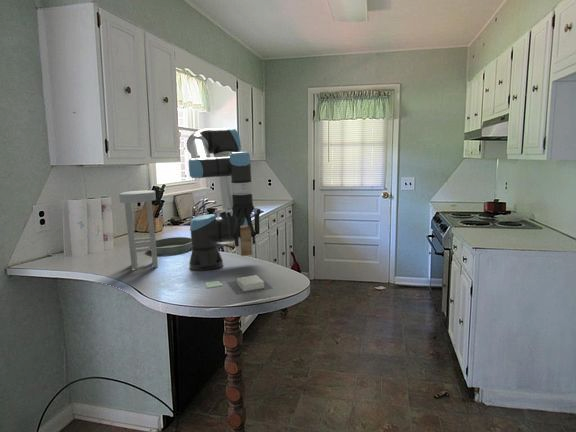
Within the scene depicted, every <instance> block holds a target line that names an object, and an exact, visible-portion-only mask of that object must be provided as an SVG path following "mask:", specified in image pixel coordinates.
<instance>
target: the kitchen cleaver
mask: <svg viewBox="0 0 576 432" xmlns="http://www.w3.org/2000/svg"><path fill="white" fill-rule="evenodd" d="M232 244H233V242H231V241H229V242H219V243H218V246H223V247H226V248H231V249H235V248H236V246H235V245H232Z"/></svg>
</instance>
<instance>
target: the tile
mask: <svg viewBox="0 0 576 432" xmlns="http://www.w3.org/2000/svg"><path fill="white" fill-rule="evenodd" d="M262 279H263V278H262ZM262 279H260V278H259V275H256V274H254V275H248V276H242V277H237V278H236V281H237V285H238V286H239V287H240V288H241V289H242V290H243V291H249V290H255V289H261V288H264V281H263V280H264V279H263V280H262Z"/></svg>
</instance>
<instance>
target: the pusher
mask: <svg viewBox="0 0 576 432" xmlns="http://www.w3.org/2000/svg"><path fill="white" fill-rule="evenodd" d="M239 238H241V254H242V255H240V256H241V257H246V256H252V255H253V253H252V243H251V227H250V226H248V225H242V226H240V231H239Z"/></svg>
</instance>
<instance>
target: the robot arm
mask: <svg viewBox="0 0 576 432" xmlns="http://www.w3.org/2000/svg"><path fill="white" fill-rule="evenodd" d="M186 149H187V151H188V152H189V154H190V156H191V158H189V159H188V174H189V177H190V178H191V179H204V178H206V179H207V178H218V179H219V188H220V198H221V206H222V207H221V208H222V210H221V211H220V212H219V216H218V217H217V216H216V214H213V213H210V214H204V215H198V216H196V217H193V218H192V219H191V220H190V223H189V224H190V226H189V231H190V238H191V242H192V247H191V254H190V259H189V262H188V263H189V264H188V265H189V269H190V270H192V271H200V272H201V271H202V272H203V271H212V270H217V269H219V268H221V267H223V265H224V260H223V257H222V255H221V252H220V250H219V245H218V243H219V242H234V246H235V248H236V247H237V255H239V256H241V255H242V254H241V238H239V231H240V226H242V225H248V226H250V227H251V243H252V254H254V245H256V236H257V235H259V234H260V214H261V211H262V210H261V208H257V207H255V206H254V203H253V202H254V201H253V194H252V192H253V190H252V189H253V188H252V187H253V185H252V167H251V166H252V165H251V163H252V160H251V155H250V154H251V153H249V151H241V150H242V145H241V138H240V135H239V132H238V130H237V129H236V128H233V127H231V128H230V127H223V128H222V127H221V128H220V127H219V128H218V127H217V128H202V129H198V130H197V131H194V132H193V133H192V134H190V136H188V139H187V141H186ZM211 154H212V155H213V157H211ZM252 213H254V217H253V218H254V220H253V221H254V224H253V222H252V217H251V214H252Z"/></svg>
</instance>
